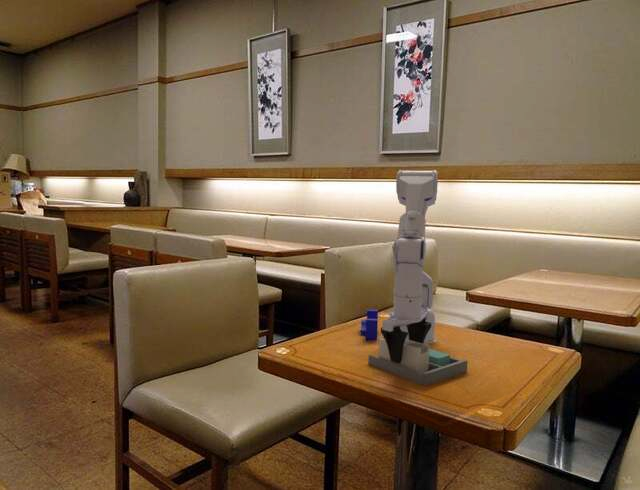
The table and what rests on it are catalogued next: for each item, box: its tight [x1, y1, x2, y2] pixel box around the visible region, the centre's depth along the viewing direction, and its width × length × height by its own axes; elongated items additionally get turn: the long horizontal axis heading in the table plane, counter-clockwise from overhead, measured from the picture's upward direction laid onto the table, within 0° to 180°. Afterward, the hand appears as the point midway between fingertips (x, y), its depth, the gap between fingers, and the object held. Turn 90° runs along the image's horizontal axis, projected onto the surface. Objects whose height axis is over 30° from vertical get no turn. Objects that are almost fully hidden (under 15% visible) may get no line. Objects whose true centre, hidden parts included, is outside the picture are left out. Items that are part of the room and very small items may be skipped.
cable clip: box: [360, 309, 379, 342], centre depth 130 cm, size 12×4×6 cm, turn 173°
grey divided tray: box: [367, 354, 468, 387], centre depth 104 cm, size 14×16×3 cm
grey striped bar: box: [378, 336, 430, 373], centre depth 103 cm, size 4×10×6 cm, turn 46°
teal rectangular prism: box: [429, 348, 451, 367], centre depth 106 cm, size 4×10×3 cm, turn 39°
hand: (405, 358), depth 102 cm, fingers open, 7 cm apart
